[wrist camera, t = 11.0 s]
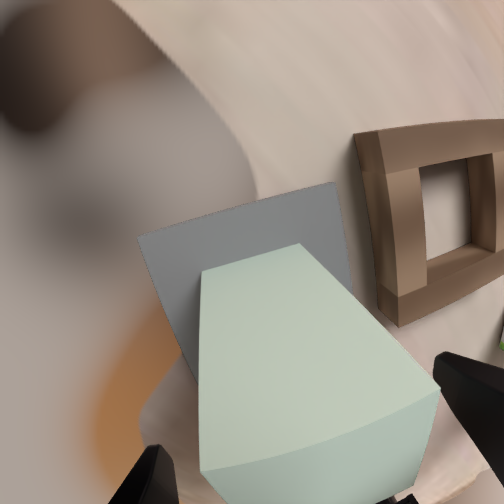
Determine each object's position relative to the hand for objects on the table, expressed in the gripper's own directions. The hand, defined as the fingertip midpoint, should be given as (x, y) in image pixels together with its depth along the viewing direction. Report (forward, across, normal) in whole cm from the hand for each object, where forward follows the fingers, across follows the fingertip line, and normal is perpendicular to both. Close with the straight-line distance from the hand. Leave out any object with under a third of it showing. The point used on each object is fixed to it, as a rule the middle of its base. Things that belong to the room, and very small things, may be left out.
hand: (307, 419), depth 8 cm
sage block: (+8, 0, 0) cm, 8 cm away
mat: (+9, 0, 0) cm, 9 cm away
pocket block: (+9, -12, -2) cm, 15 cm away
